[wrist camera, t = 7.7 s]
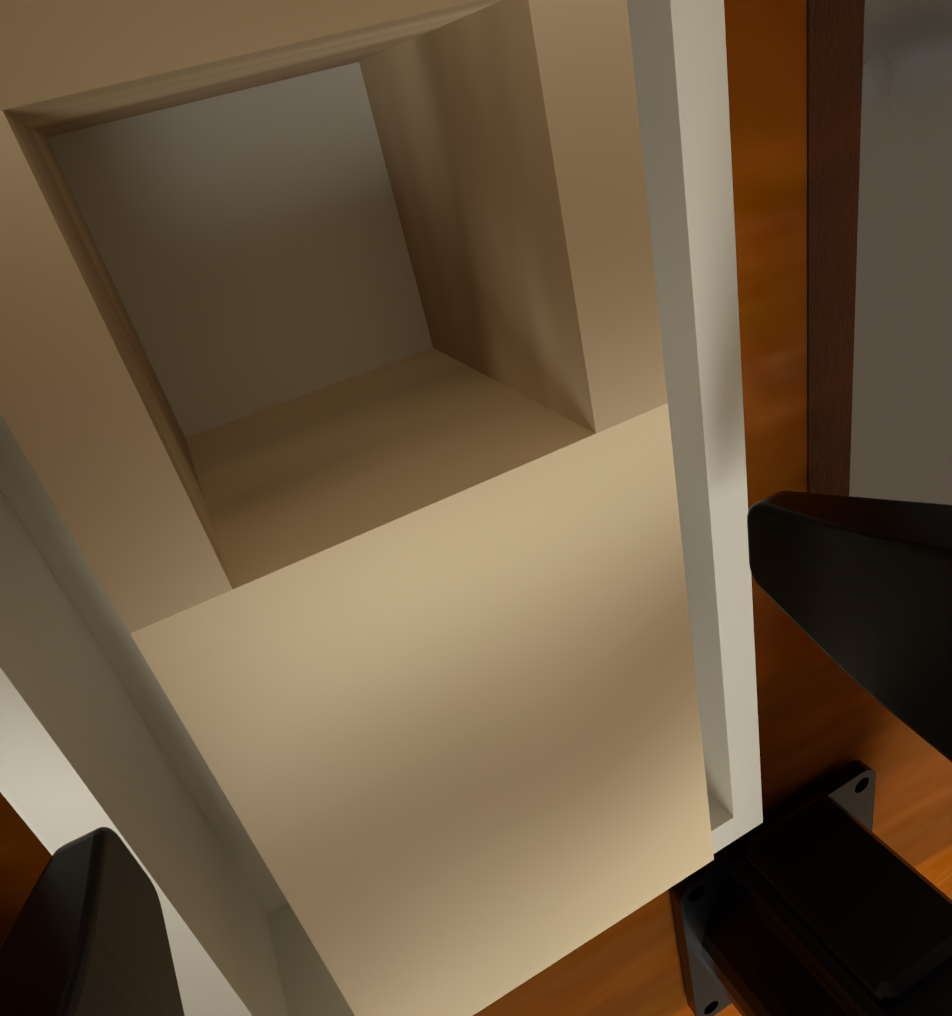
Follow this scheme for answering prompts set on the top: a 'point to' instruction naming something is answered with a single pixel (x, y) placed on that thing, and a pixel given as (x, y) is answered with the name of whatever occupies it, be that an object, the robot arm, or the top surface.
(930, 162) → the stud base
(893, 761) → the top surface
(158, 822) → the tray
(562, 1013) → the top surface
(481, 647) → the beige rectangular block
